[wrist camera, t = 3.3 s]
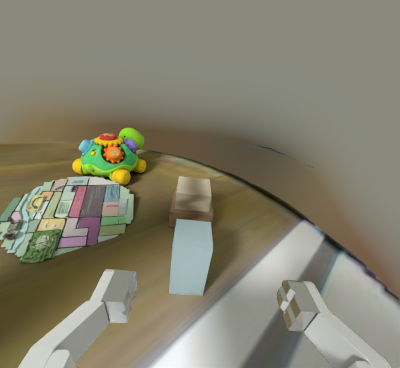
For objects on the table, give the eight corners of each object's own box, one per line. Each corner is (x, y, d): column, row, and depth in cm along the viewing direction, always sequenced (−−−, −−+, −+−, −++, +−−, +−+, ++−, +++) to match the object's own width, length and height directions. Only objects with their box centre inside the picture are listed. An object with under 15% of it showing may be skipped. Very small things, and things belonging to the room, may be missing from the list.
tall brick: (168, 293, 28) (172, 245, 23) (173, 264, 32) (176, 218, 27) (202, 295, 28) (213, 249, 23) (202, 266, 32) (210, 221, 27)
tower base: (168, 226, 40) (170, 194, 36) (173, 202, 47) (175, 173, 44) (210, 230, 40) (216, 199, 36) (208, 205, 48) (213, 178, 44)
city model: (-16, 308, 25) (-38, 285, 22) (-7, 201, 39) (-20, 177, 35) (155, 238, 40) (157, 218, 37) (118, 179, 54) (117, 160, 50)
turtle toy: (159, 162, 68) (159, 129, 62) (118, 194, 48) (114, 150, 42) (117, 152, 71) (114, 120, 65) (63, 179, 51) (52, 136, 45)
